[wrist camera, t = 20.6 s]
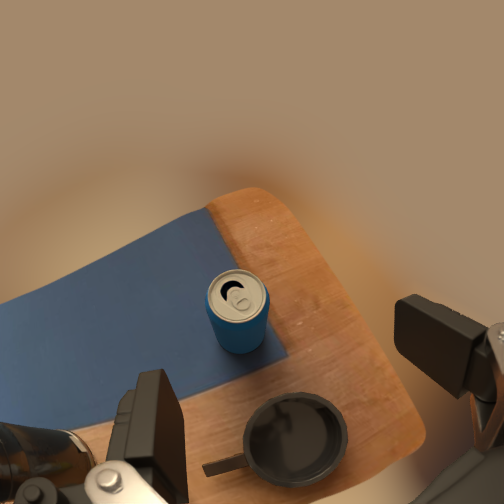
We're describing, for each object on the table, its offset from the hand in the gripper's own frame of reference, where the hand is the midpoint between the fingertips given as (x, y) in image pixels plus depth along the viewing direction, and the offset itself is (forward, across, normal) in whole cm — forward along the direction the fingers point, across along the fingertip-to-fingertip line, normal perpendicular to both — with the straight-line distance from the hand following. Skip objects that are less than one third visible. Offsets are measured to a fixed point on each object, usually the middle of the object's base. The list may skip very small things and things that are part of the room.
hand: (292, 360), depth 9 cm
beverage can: (+28, 0, +13) cm, 31 cm away
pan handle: (+16, +6, +25) cm, 30 cm away
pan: (+16, -2, +24) cm, 29 cm away
